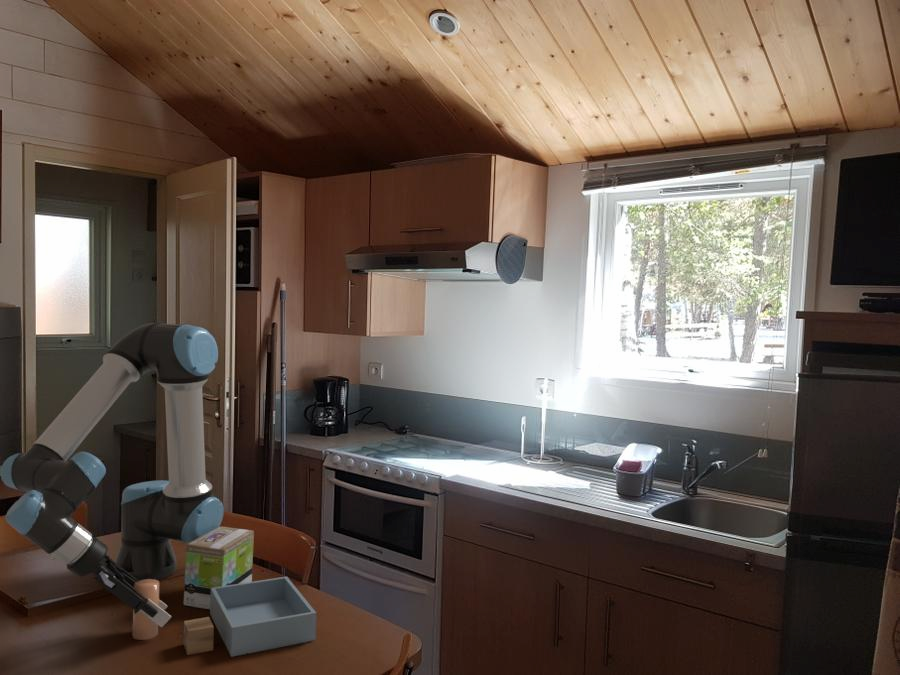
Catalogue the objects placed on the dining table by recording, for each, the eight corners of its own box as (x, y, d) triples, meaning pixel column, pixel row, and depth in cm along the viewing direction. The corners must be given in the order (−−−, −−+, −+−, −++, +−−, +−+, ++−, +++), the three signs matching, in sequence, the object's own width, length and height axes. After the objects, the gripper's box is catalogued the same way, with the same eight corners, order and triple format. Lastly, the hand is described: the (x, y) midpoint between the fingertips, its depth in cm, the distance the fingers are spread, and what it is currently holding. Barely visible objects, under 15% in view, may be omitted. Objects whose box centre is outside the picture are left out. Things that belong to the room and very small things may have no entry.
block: (183, 644, 152) (183, 621, 152) (208, 640, 154) (208, 616, 154) (187, 655, 148) (188, 631, 147) (213, 650, 150) (213, 626, 150)
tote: (210, 613, 166) (210, 587, 166) (286, 601, 175) (286, 576, 175) (231, 656, 148) (232, 627, 147) (315, 640, 156) (316, 612, 156)
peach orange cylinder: (131, 631, 156) (132, 581, 156) (156, 627, 159) (157, 577, 158) (133, 641, 152) (135, 589, 151) (159, 637, 154) (160, 586, 154)
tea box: (222, 612, 168) (223, 548, 167) (182, 606, 170) (184, 543, 169) (253, 587, 182) (254, 528, 182) (216, 582, 184) (217, 524, 184)
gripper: (63, 551, 155) (145, 613, 164) (65, 582, 139) (156, 649, 148) (91, 523, 157) (171, 586, 166) (97, 551, 141) (184, 619, 150)
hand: (164, 616), depth 157 cm, fingers closed on peach orange cylinder, 5 cm apart
